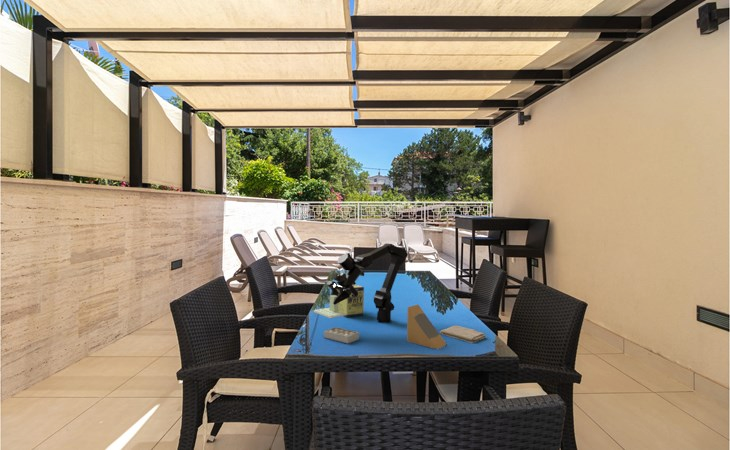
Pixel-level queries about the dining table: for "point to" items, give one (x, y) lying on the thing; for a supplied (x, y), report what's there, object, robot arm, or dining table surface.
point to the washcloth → (463, 334)
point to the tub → (341, 335)
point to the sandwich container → (422, 329)
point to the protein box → (353, 303)
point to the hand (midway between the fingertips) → (331, 303)
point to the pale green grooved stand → (330, 309)
